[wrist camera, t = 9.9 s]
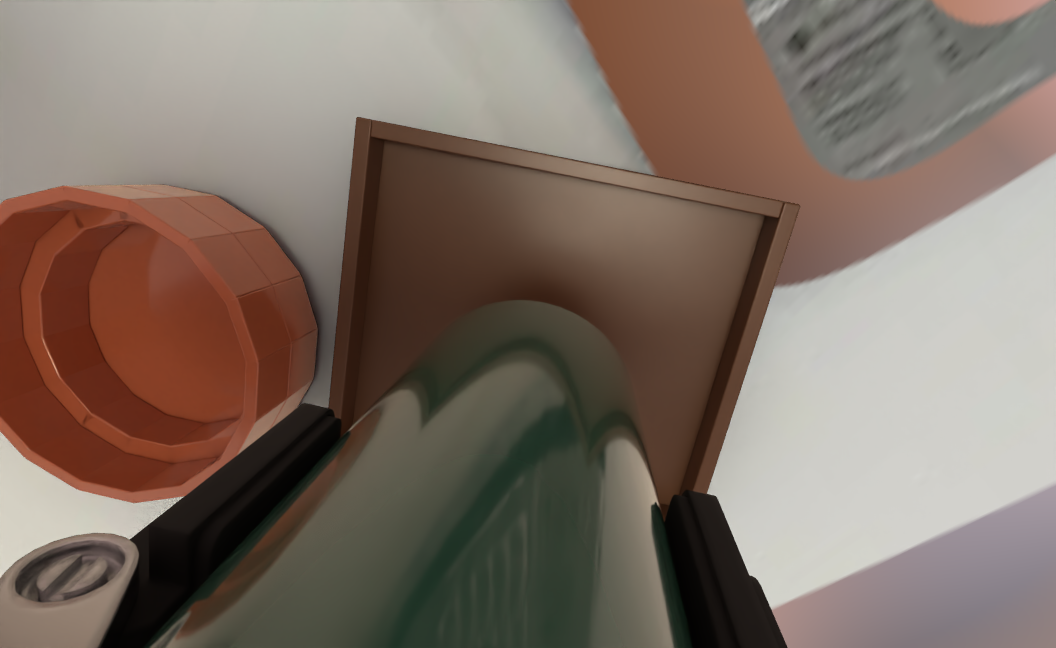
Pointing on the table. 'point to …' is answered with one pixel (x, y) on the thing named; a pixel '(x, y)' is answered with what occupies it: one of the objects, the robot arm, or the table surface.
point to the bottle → (465, 511)
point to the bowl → (144, 336)
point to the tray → (558, 274)
